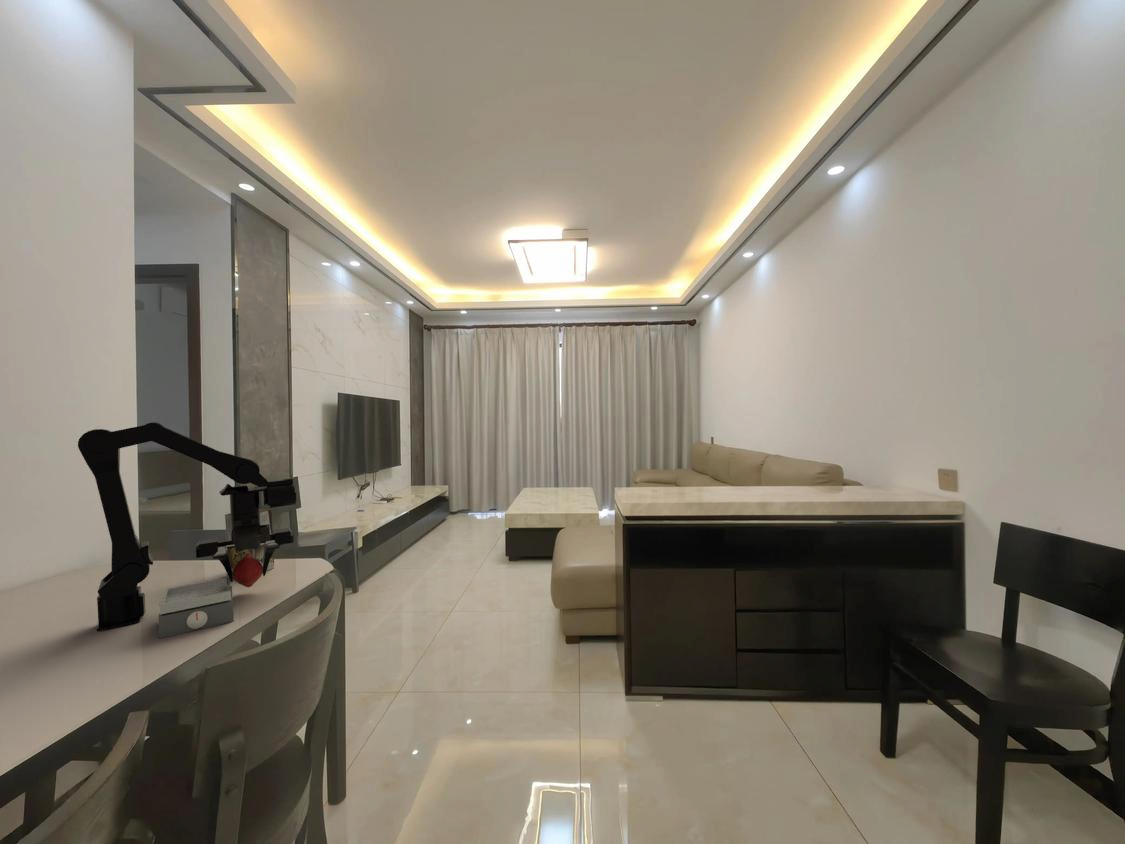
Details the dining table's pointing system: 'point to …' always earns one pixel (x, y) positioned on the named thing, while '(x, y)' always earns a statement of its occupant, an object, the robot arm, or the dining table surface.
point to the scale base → (195, 618)
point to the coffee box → (255, 553)
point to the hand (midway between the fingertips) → (248, 578)
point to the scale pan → (195, 595)
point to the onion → (247, 571)
